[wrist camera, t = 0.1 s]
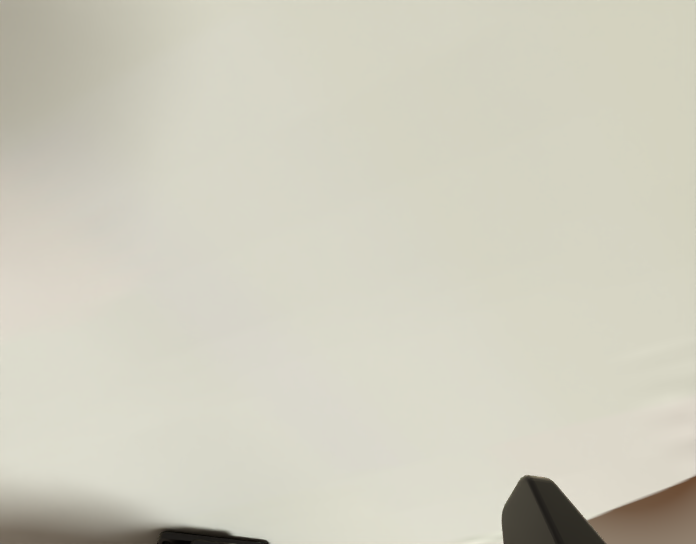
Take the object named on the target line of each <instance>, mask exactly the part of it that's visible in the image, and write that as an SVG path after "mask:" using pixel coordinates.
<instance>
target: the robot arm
mask: <svg viewBox="0 0 696 544" xmlns="http://www.w3.org/2000/svg"><path fill="white" fill-rule="evenodd" d="M502 531H503V543H504V544H606V543H605V541H604V540H603V539H602V538H601V537H600V536H599V534H598V533H597V532H596V531H595V530H594V528H593V527H592V526H591V525H590V524H589V523H588V521H587V520H586V519H585V518H584V517H583V516H582V514H581V513H580V512H579V511H578V510H577V509H576V507H575V506H574V505H573V504H572V503H571V501H570V500H569V499H568V498H567V497H566V496H565V494H564V493H563V492H562V491H561V490H560V489H559V487H558V486H557V485H556V484H555V483H554V482H553V481H552V480H550V479H548V478H545V477H538V476H530V475H525V476H524V477H522V478H521V479H520V480H519V482H518V484H517V485H516V487H515V489H514V490H513V492H512V494H511V495H510V497H509V499H508V500H507V502H506V504H505V506H504V508H503V512H502ZM157 544H266V543H259V542H250V541H242V540H233V539H225V538H216V537H208V536H199V535H191V534H183V533H174V532H163V533H161V534H160V535H159V538H158V542H157Z"/></svg>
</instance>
